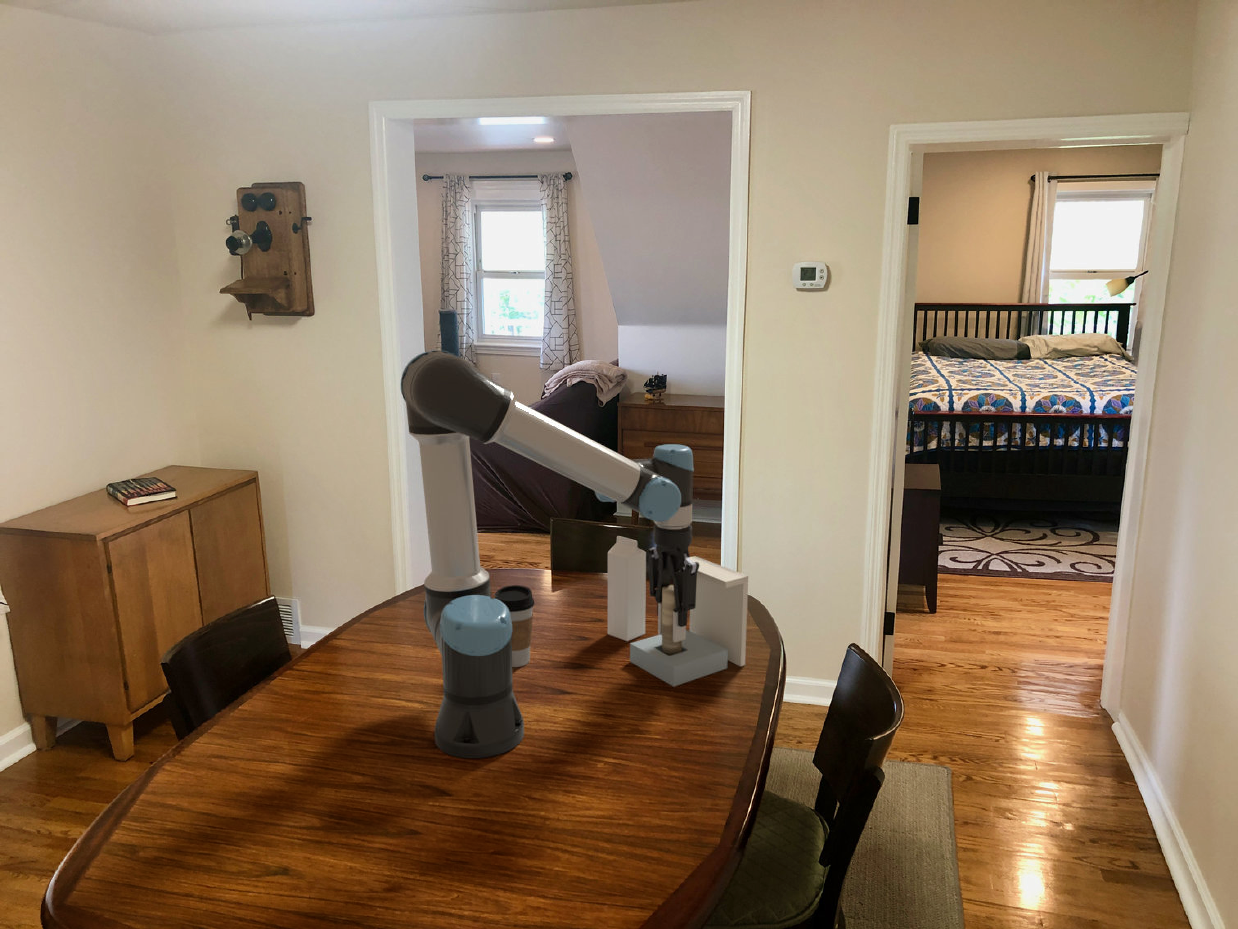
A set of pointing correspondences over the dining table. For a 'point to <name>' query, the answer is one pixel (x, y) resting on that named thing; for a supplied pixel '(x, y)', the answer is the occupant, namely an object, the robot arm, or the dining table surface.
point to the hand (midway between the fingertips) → (671, 636)
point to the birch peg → (669, 622)
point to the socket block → (679, 658)
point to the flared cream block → (721, 608)
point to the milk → (626, 589)
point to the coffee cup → (519, 620)
